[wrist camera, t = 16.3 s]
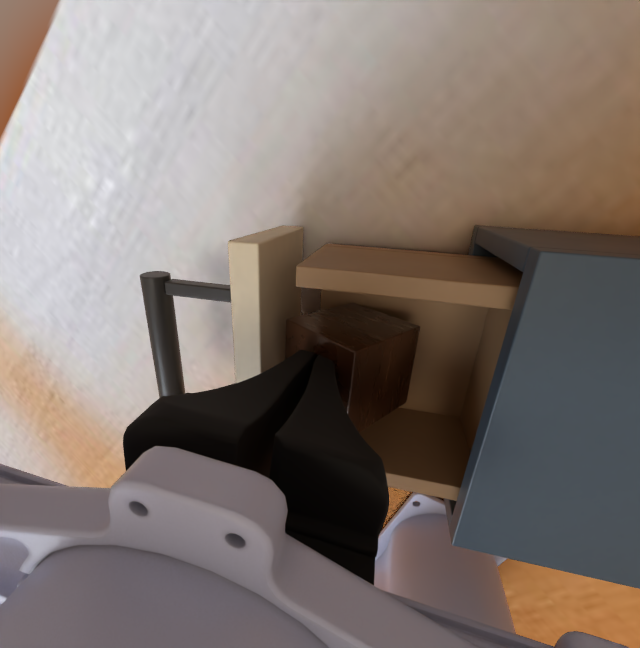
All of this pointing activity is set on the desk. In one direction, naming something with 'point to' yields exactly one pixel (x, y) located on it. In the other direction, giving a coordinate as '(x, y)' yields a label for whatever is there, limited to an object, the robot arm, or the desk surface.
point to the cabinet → (560, 410)
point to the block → (360, 356)
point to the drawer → (377, 294)
